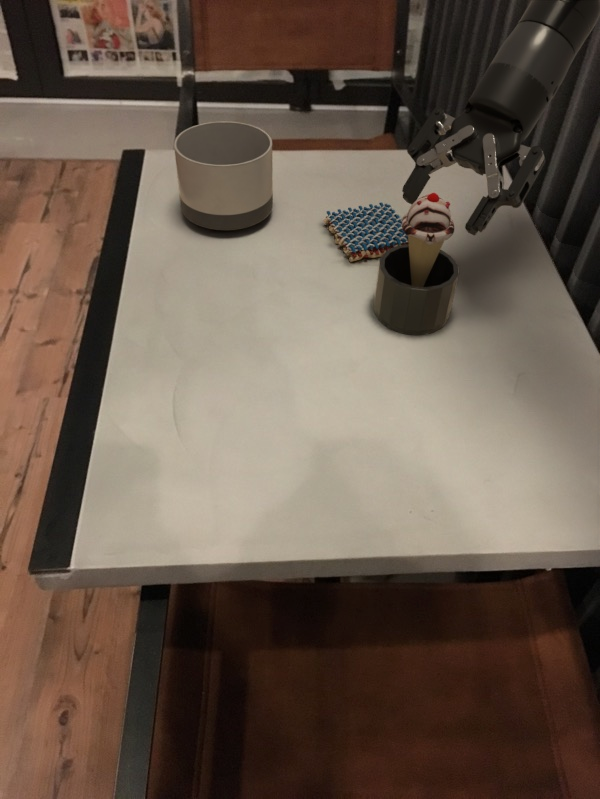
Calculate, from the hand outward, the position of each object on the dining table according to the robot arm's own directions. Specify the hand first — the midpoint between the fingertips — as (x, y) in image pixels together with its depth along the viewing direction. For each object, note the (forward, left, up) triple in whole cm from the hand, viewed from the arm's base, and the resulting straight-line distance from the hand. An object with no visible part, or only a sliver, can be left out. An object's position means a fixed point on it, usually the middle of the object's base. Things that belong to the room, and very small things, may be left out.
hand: (437, 216), depth 75 cm
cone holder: (0, +2, -12) cm, 12 cm away
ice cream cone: (0, +2, -11) cm, 12 cm away
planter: (+31, -5, -12) cm, 34 cm away
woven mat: (+11, -10, -12) cm, 19 cm away
